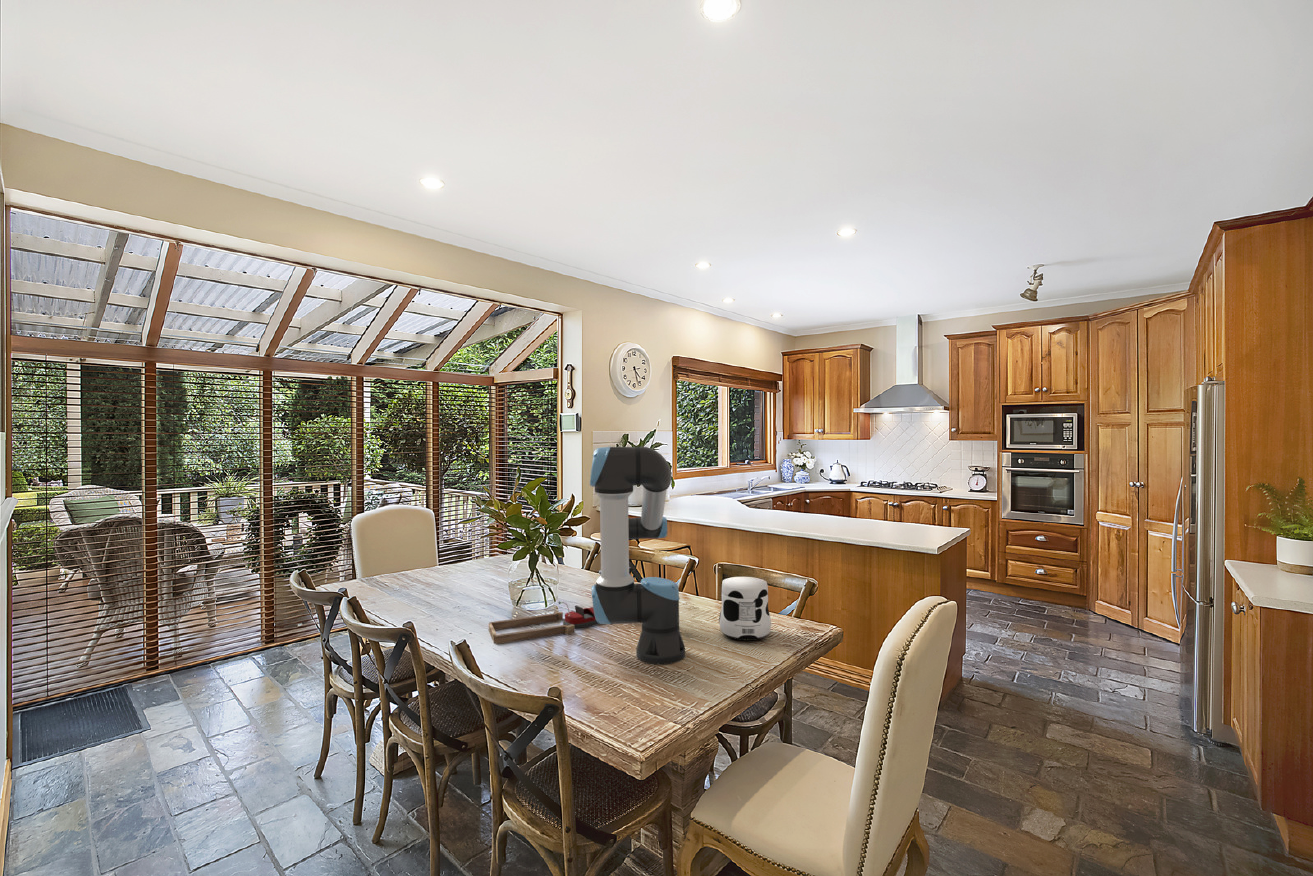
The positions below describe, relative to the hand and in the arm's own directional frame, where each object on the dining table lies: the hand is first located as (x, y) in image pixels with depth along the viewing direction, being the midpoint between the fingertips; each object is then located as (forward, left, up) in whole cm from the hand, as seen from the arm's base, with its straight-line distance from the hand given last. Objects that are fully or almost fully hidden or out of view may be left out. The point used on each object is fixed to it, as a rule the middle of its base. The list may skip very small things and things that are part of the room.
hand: (616, 613), depth 214 cm
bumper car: (0, +13, -2) cm, 13 cm away
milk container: (-36, -33, -2) cm, 49 cm away
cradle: (0, +32, -2) cm, 32 cm away
